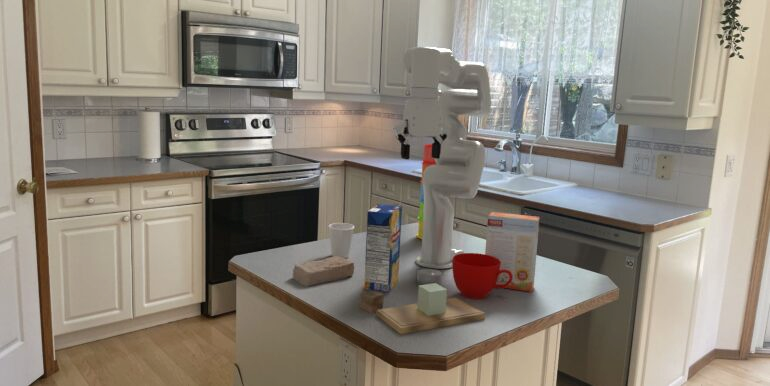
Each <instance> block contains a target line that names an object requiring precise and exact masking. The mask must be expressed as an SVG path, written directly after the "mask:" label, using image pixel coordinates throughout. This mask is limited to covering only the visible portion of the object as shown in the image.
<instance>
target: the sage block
mask: <svg viewBox="0 0 770 386" xmlns="http://www.w3.org/2000/svg"><path fill="white" fill-rule="evenodd" d="M447 296H448V289H447V288H445V287H444V286H442V285H438V284H436V283H433V284H426V285H420V284H418V292H417V303H418V306H417V309H419V310H420V311H422V312H423V313H425V314H426V315H428V316H430V315H436V314H442V313H445V312H446V299H448V297H447Z"/></svg>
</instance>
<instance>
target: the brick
mask: <svg viewBox="0 0 770 386" xmlns="http://www.w3.org/2000/svg"><path fill="white" fill-rule="evenodd" d="M293 267H294V268H293V270H292V278H293V280H295V281H297V282H299V283H300V284H302V285H304V286H307V287H308V286H312V285H318V284H323V283H327V282H332V281H335V280H336V281H337V280H342V279H346V278H348V277H352V276H353V275H354V273H355V263H354V261H352V260H350V259H347V258H342V257H339V256H336V257H333V256H331V257H327V258H324V259H321V260H313V261H305V262H302V263H298V264H294V266H293Z"/></svg>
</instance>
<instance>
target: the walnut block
mask: <svg viewBox="0 0 770 386" xmlns="http://www.w3.org/2000/svg"><path fill="white" fill-rule="evenodd" d="M383 307H384V293H382V292H379V291H373V290H367V291H364V292H362V293H360V305H359V308H360V310H362V311H365V312H368V313H371V314H373V313H376V310H378V309H384V308H383Z"/></svg>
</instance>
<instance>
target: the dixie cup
mask: <svg viewBox="0 0 770 386" xmlns="http://www.w3.org/2000/svg"><path fill="white" fill-rule="evenodd" d="M328 228H329V229H328V230H329V238H330V239H329V240H330V248H331V249H330V250H331V257H336V256H339V257H342V258H345V259H347V258H349V257H350V254H351V250H352V249H351V247H352V243H353V242H352V241H353V237H354V236H353V235H354V229H355V225H354V224H351V223H346V222H334V223H331V224H329V225H328Z"/></svg>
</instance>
